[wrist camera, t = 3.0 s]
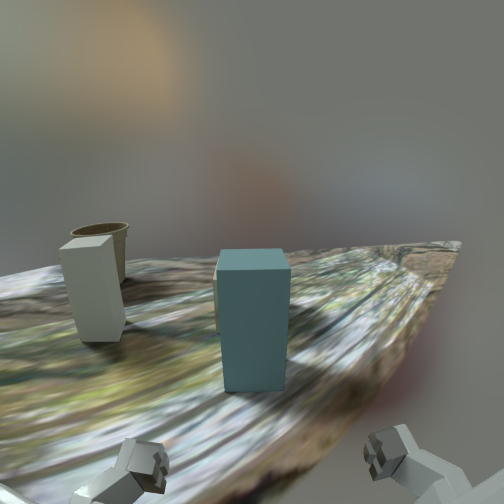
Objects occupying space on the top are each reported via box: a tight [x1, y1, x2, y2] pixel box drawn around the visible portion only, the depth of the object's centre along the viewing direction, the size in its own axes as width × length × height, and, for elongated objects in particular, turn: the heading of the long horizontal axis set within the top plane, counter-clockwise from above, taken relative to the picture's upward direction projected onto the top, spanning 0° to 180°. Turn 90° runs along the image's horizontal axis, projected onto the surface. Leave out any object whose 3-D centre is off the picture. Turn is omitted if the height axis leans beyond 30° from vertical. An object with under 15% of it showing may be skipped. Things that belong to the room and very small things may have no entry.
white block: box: [59, 235, 127, 342], centre depth 26 cm, size 4×4×10 cm
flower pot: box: [70, 222, 129, 284], centre depth 40 cm, size 9×9×9 cm
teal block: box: [216, 249, 291, 392], centre depth 21 cm, size 4×4×10 cm
